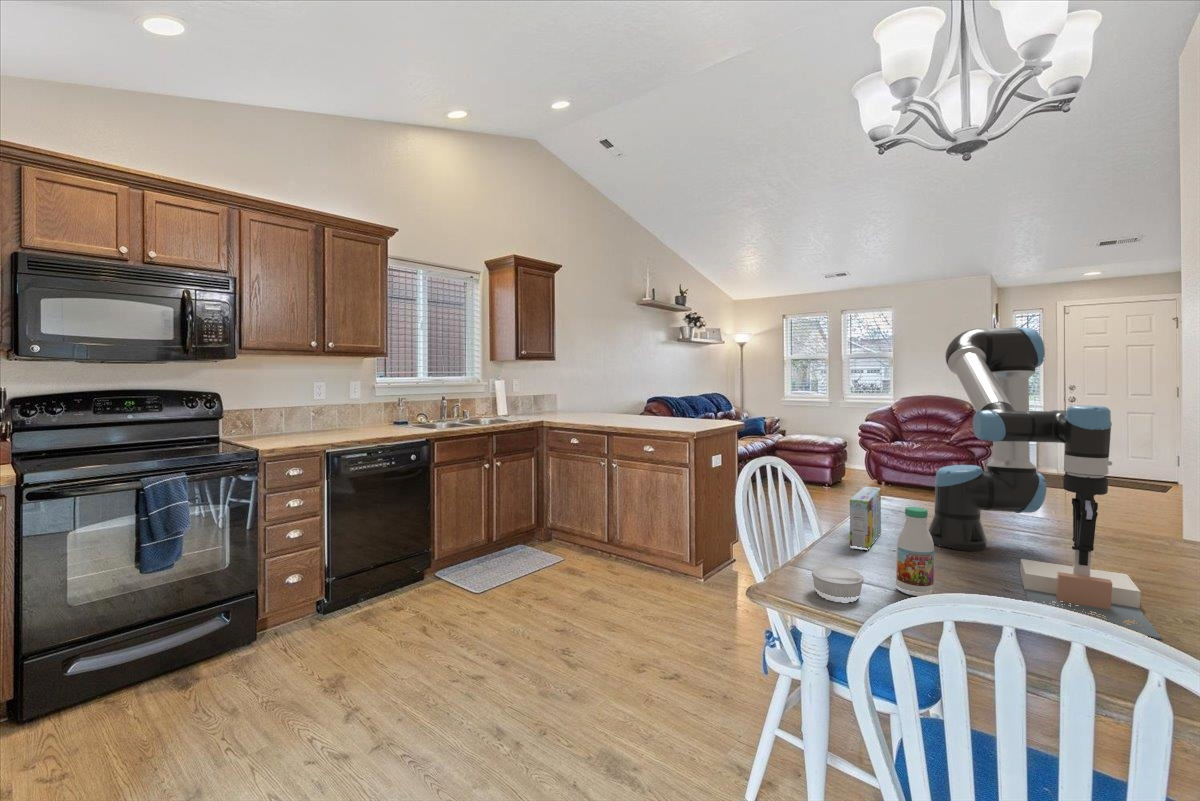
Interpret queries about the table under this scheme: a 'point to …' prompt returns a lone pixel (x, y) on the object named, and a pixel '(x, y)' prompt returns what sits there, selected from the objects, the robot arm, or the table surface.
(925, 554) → the milk bottle
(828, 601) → the table surface
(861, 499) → the snack box
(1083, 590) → the tile
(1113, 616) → the mat
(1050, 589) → the plate
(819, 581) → the ramekin
